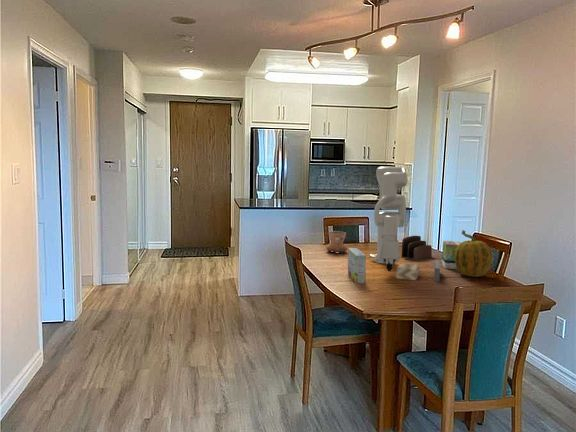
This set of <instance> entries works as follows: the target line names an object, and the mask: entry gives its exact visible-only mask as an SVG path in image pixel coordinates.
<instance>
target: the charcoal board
mask: <svg viewBox="0 0 576 432" xmlns="http://www.w3.org/2000/svg"><path fill="white" fill-rule="evenodd" d="M440 272H441V267H440V260H437V259H436V260H434V273H433V274H434V278H433V279H434V280H433V282H438V283H439V282H440V274H441V273H440Z"/></svg>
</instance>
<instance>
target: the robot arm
mask: <svg viewBox="0 0 576 432" xmlns="http://www.w3.org/2000/svg"><path fill="white" fill-rule="evenodd" d="M407 173H408V172H407V170H406V168H405V167H403V166H379V167H377V168H376V171H375V174H376V175H375V176H376V181H377V182H378V184H379V199H378V201H377V202H376V204H375V206H374V212H373V215H374V216H373V217H374V218H373V220H374V223H373V224H374V225H375V226H376V227H377V228H376V229H377V242H376V243H377V244H376V245H377V246H376V247H377V249H376V254H369V258H370V259H373V260H374V261H373V262H375V263H377V264H383V265H384V264H385V265H386V270H387V271H388V272H391V271H392V270H393V264H394V263H396V262H399V261H400V241H399V239H398V237H399V234H398V230H399V229H398V228H403V227H405V226H406V213H407V212H406V211H407V210H406V209H407V208H406V207H407V203H406V202H407V201H406V197H405V196H404V195H403V194H398V189H397V188H405V187H406V186H407V184H408V174H407ZM380 209H381V210H390V211H381V212H380ZM391 210H392V211H391Z"/></svg>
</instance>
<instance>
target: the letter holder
mask: <svg viewBox="0 0 576 432" xmlns="http://www.w3.org/2000/svg"><path fill="white" fill-rule="evenodd" d="M432 246H433V245H430V244H427V241H426V240H422V237H421V235H411V236H407V237H406V236H405V237H404V238H403V239H402V241H401V259H403V258H404V259H405V260H408V259H409V261H418V260H422V259H428V258H432V257H433V256H432V252H433V250H432V249H433V247H432Z"/></svg>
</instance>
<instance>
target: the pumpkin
mask: <svg viewBox="0 0 576 432" xmlns="http://www.w3.org/2000/svg"><path fill="white" fill-rule="evenodd" d="M461 235H463V236H464V237H466V238H468V239H471V240H463V241H462V242H460V244H459V245H458V246H457V248H456V251H455V264H456V268H457V269H456V270H457V271H458V273H460V274H461V275H463V276H466V277H471V278H472V277H473V278H476V277H477V278H478V277H483V276H484V275H485V274H486V273H488V272H489V270H490V268H491V265H492V262H493V254H492V253H493V252H492V250H491V247H490V246H489V245H488V244H487V243H486V242H484V241H483V240H482V241H481V240H476V238H475V237H474V236H473V235H471V234H469V233H468V234H467V233H466V230H464V229H462V230H461Z"/></svg>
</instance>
